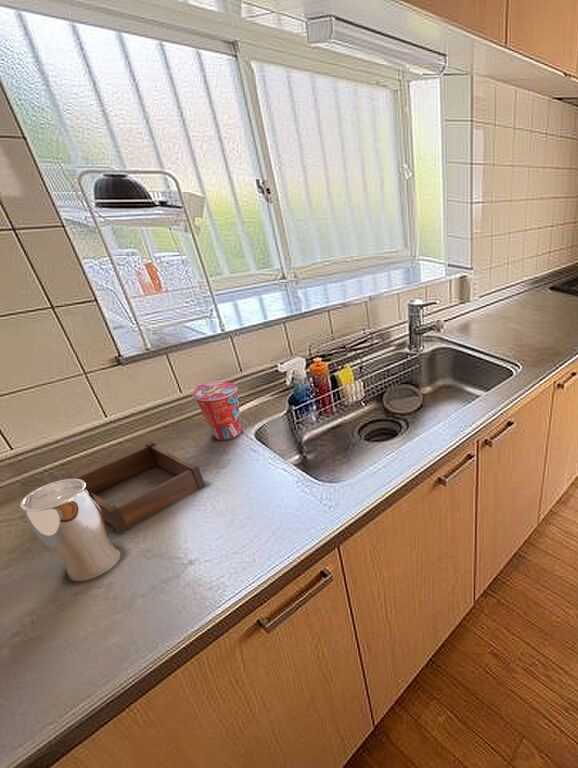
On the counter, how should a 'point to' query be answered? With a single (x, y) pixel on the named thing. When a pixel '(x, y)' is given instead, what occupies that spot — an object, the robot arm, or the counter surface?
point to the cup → (220, 408)
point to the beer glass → (71, 527)
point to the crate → (151, 499)
